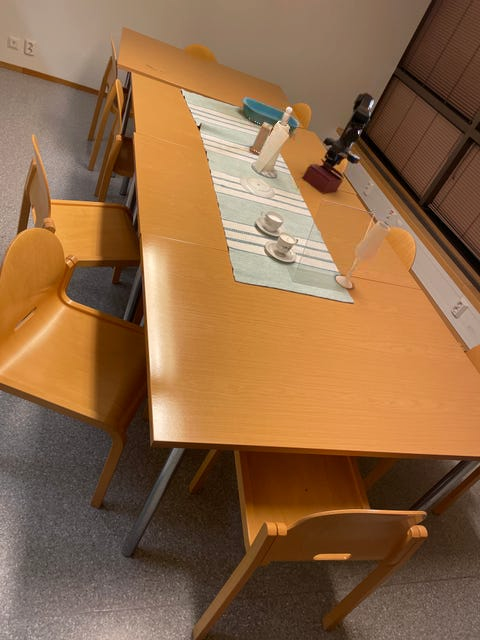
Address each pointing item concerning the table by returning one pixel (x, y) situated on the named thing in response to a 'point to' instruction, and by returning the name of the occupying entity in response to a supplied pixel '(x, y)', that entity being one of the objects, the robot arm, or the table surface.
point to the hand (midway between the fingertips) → (332, 166)
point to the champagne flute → (366, 249)
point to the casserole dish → (265, 114)
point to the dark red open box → (322, 178)
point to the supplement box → (261, 137)
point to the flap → (332, 168)
